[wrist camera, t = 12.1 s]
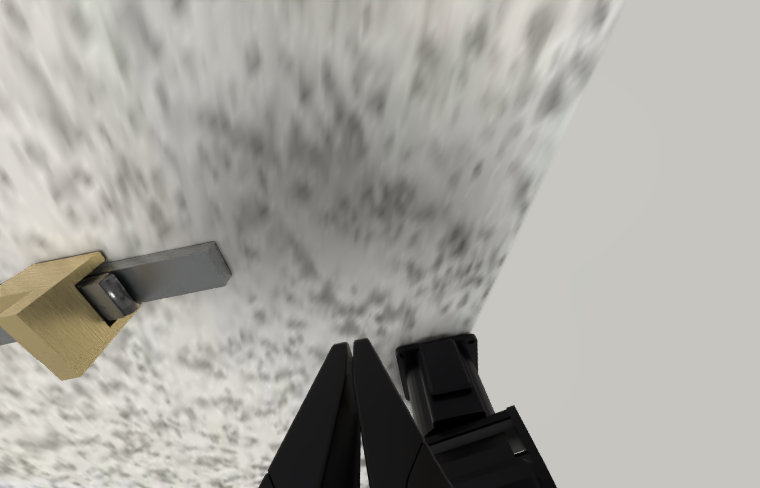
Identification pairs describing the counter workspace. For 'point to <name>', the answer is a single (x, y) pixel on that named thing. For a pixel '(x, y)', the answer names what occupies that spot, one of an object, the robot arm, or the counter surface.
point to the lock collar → (57, 315)
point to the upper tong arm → (98, 300)
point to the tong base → (169, 272)
